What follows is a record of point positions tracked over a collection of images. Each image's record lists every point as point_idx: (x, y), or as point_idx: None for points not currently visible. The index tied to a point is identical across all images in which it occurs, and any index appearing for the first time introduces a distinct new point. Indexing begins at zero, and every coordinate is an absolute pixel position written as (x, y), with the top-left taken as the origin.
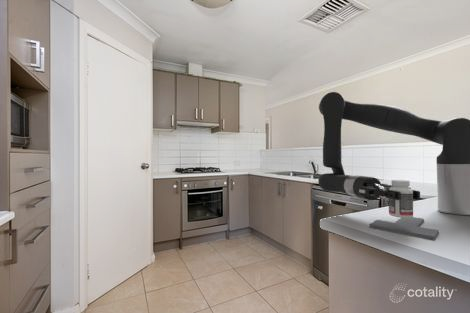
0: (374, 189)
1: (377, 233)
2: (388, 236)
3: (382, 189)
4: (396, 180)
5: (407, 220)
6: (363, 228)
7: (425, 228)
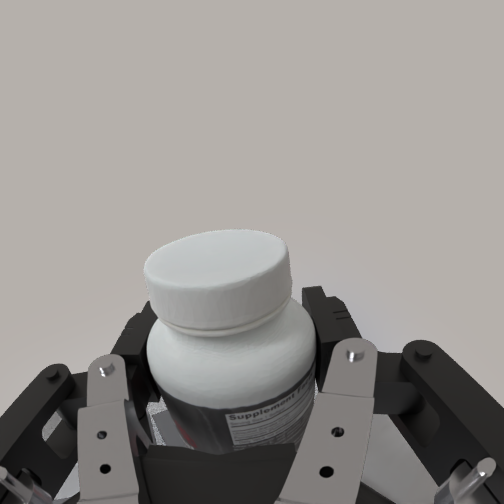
0: (442, 354)
1: (395, 442)
2: (372, 416)
3: (375, 347)
4: (252, 250)
5: None
6: (423, 497)
7: (173, 439)
